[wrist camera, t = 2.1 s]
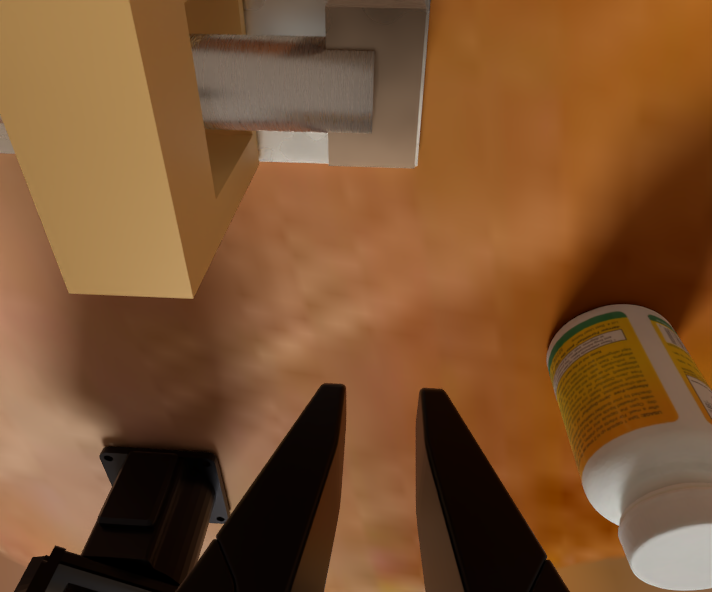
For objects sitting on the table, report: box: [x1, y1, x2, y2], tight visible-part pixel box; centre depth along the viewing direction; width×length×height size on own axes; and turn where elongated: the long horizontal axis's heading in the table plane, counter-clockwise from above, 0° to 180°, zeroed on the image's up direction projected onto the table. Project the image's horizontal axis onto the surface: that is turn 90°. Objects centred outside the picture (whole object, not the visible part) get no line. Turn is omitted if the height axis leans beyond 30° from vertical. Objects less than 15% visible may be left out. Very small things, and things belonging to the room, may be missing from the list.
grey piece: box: [0, 0, 430, 168], centre depth 16 cm, size 24×7×5 cm, turn 90°
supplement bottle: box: [547, 304, 712, 590], centre depth 20 cm, size 5×5×10 cm
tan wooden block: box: [0, 0, 259, 299], centre depth 14 cm, size 3×7×8 cm, turn 0°
